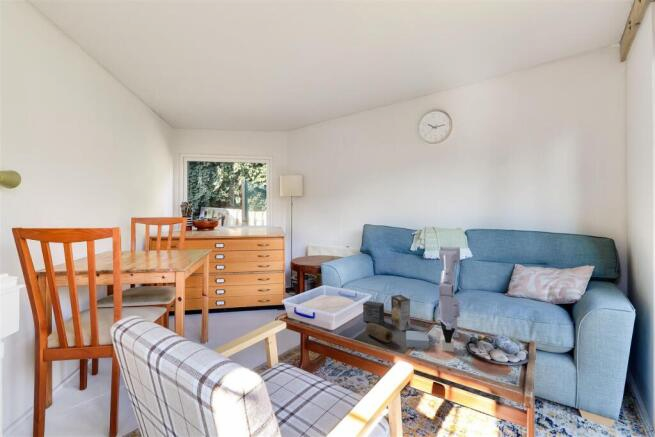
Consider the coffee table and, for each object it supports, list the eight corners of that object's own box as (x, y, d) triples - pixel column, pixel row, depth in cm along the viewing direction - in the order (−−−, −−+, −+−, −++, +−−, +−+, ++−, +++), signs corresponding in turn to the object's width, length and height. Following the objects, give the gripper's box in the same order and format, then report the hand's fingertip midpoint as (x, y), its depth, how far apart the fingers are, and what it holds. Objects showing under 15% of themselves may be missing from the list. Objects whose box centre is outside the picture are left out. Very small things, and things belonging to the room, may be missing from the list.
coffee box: (391, 324, 168) (390, 295, 167) (400, 322, 170) (400, 294, 170) (400, 331, 159) (400, 300, 159) (411, 328, 162) (410, 299, 161)
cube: (440, 345, 142) (440, 335, 142) (452, 346, 141) (452, 336, 141) (441, 350, 137) (441, 339, 137) (453, 351, 136) (453, 340, 136)
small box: (384, 321, 173) (384, 302, 173) (380, 325, 168) (380, 306, 167) (367, 317, 179) (367, 300, 179) (363, 321, 174) (362, 303, 173)
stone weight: (395, 341, 148) (395, 328, 148) (385, 345, 144) (385, 331, 144) (373, 331, 160) (373, 319, 160) (363, 335, 156) (363, 322, 156)
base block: (406, 338, 151) (406, 330, 151) (427, 339, 149) (427, 331, 149) (406, 347, 142) (406, 339, 142) (429, 349, 139) (429, 341, 139)
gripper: (435, 303, 146) (436, 331, 147) (438, 314, 132) (439, 345, 133) (451, 304, 145) (451, 333, 145) (456, 315, 131) (456, 346, 131)
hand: (446, 339), depth 139 cm, fingers open, 7 cm apart
